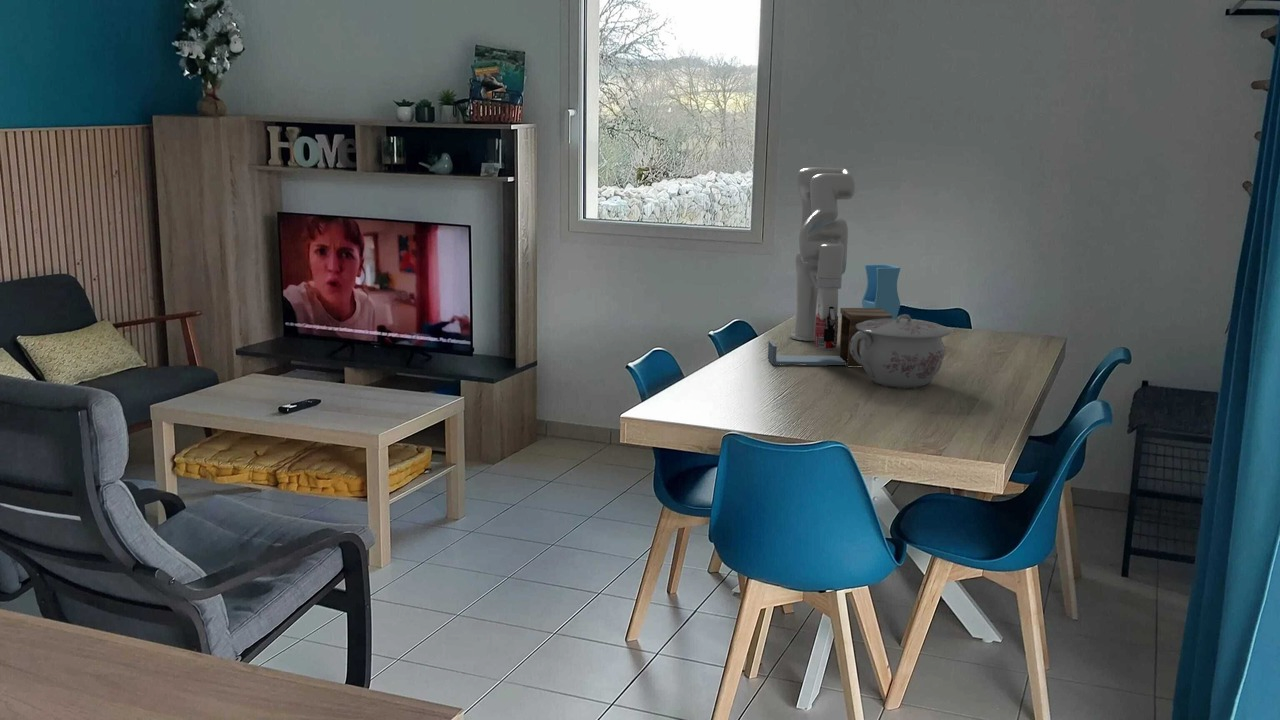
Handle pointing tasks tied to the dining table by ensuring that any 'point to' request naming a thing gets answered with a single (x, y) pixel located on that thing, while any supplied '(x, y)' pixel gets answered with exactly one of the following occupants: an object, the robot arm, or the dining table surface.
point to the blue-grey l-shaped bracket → (801, 358)
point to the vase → (882, 288)
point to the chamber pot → (899, 350)
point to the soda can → (820, 334)
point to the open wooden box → (849, 328)
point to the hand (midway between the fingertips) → (826, 338)
